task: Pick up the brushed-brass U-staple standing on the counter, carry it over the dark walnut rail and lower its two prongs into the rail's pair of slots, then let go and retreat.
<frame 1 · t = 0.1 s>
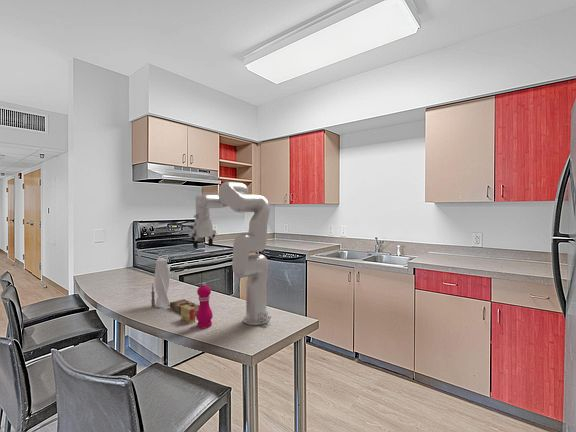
hand: (203, 246, 175), 31 cm above the table, fingers open, 9 cm apart
clip: (188, 320, 146), on the table
rail: (187, 310, 160), on the table
skyscraper: (162, 306, 169), on the table
pepper mill: (204, 326, 140), on the table
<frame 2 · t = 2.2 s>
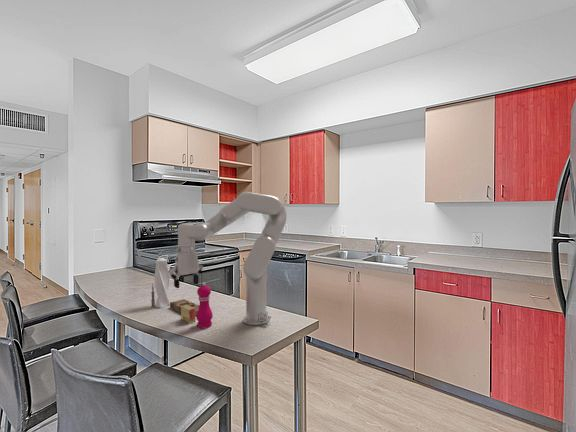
hand: (186, 285, 146), 17 cm above the table, fingers open, 9 cm apart
nothing on the table moved.
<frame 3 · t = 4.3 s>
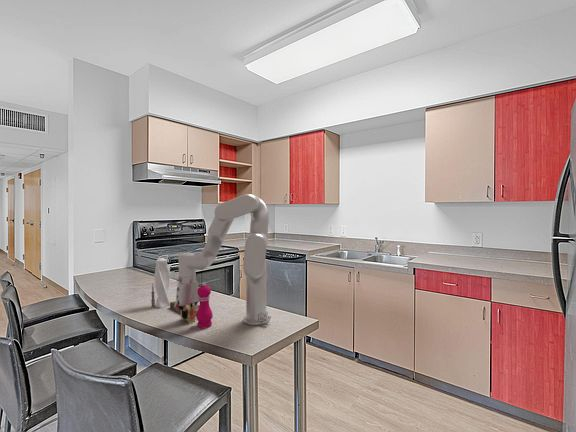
hand: (188, 317, 146), 2 cm above the table, fingers closed on clip, 3 cm apart
clip: (188, 320, 146), on the table, touching gripper
everything else where it was.
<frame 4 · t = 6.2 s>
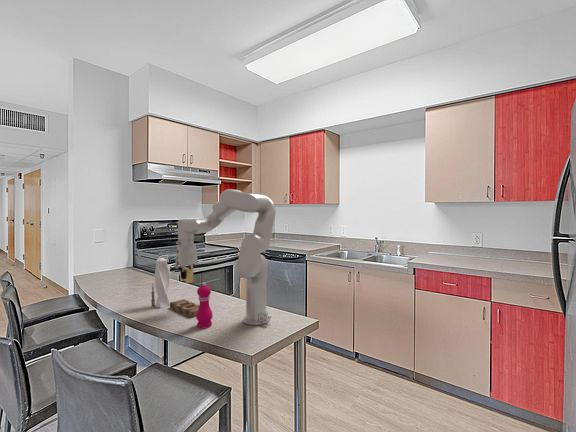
hand: (186, 277, 159), 17 cm above the table, fingers closed on clip, 3 cm apart
clip: (186, 281, 159), point 16 cm above the table, touching gripper
everything else where it was.
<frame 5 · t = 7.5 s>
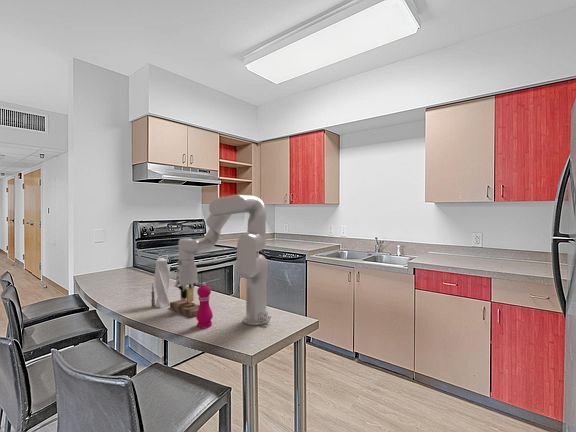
hand: (187, 296, 160), 7 cm above the table, fingers closed on clip, 3 cm apart
clip: (187, 300, 160), point 6 cm above the table, touching gripper
everything else where it was.
when the fingers open (4 cm above the table, at t = 8.4 s): clip drops 2 cm, resting on rail.
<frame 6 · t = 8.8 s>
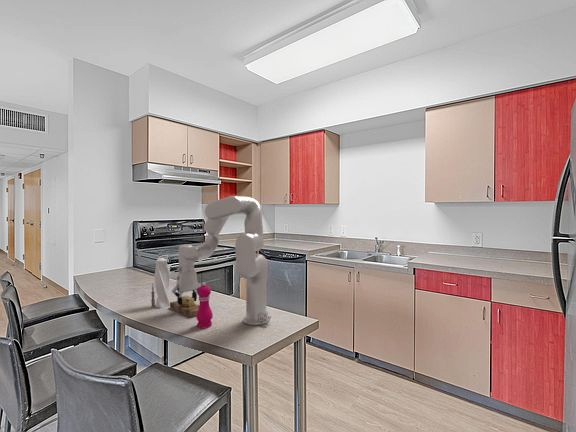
hand: (187, 302, 160), 4 cm above the table, fingers open, 7 cm apart
clip: (187, 309, 160), resting on rail
everything else where it was.
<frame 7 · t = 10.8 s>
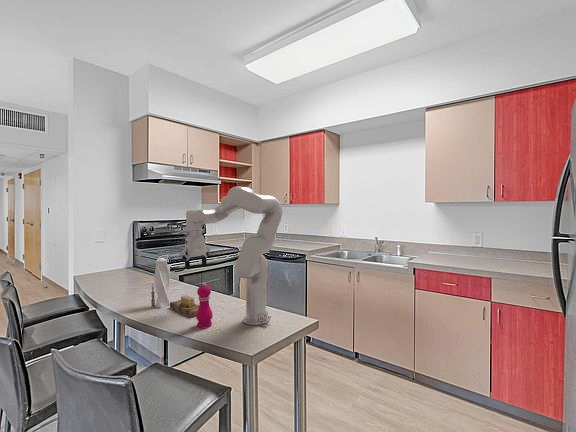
hand: (196, 266, 160), 23 cm above the table, fingers open, 9 cm apart
nothing on the table moved.
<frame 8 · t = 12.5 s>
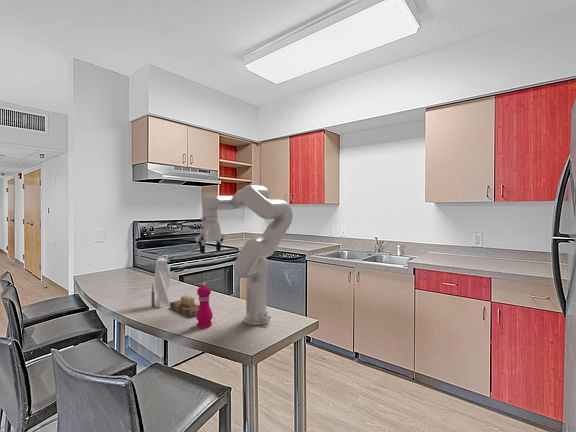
hand: (210, 252, 162), 30 cm above the table, fingers open, 9 cm apart
nothing on the table moved.
at the end: clip 0.1 cm off-centre on the rail, point 0.4 cm above the rail's base; clip tilted 0°; the gripper is holding nothing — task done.
